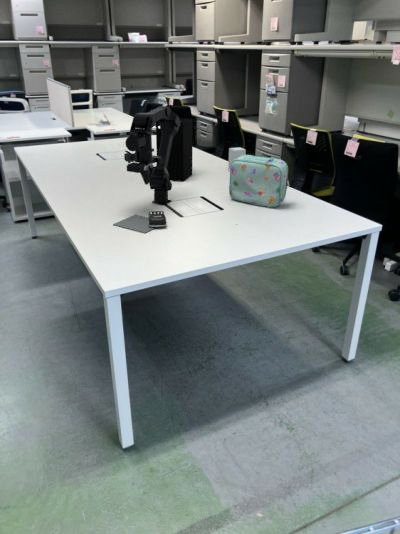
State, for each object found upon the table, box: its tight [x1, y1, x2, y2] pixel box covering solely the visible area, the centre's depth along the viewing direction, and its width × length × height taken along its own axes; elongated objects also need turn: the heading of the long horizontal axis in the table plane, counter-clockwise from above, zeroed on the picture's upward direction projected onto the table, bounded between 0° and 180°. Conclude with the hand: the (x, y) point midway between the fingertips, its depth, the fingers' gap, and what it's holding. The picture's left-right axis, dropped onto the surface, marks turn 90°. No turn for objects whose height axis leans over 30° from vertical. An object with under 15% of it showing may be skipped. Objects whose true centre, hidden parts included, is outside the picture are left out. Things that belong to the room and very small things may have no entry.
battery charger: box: [147, 210, 167, 229], centre depth 173 cm, size 7×4×11 cm
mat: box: [112, 213, 168, 234], centre depth 174 cm, size 14×16×1 cm
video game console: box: [155, 117, 194, 182], centre depth 231 cm, size 15×15×30 cm
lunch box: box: [228, 154, 290, 208], centre depth 196 cm, size 27×10×21 cm, turn 59°
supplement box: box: [227, 146, 247, 170], centre depth 250 cm, size 7×7×13 cm
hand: (146, 184), depth 182 cm, fingers closed
